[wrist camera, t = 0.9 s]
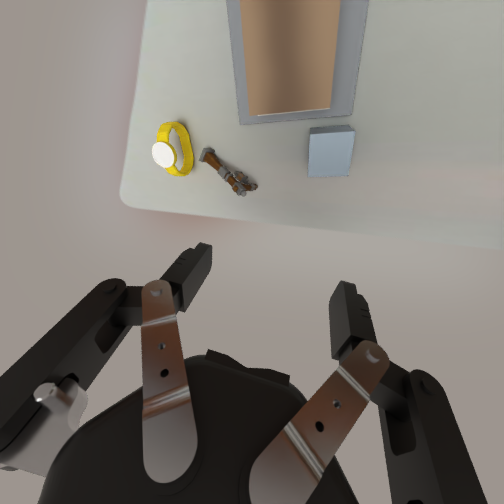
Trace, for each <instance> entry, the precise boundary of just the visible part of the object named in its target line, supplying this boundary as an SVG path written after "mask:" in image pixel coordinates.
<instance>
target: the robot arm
mask: <svg viewBox="0 0 504 504" xmlns="http://www.w3.org/2000/svg"><path fill="white" fill-rule="evenodd" d="M211 266H212V245H208V244H205V243H201V242H200V243H199V244H198V245H197V246H196V248H195V249H192V248H189V249H187V250H185V251H184V252H182V253H181V255H180V256H179V257H178V258H177V259H176V260H175V262H174V263H173V264H172V265H171V266H170V268H169V269H168V270H167V271H166V272H165V273H164V274H163V276H162V277H161V278H160V279H159V280H154V281H151V282H149V283H147V284H146V285H145V286H126V283H125V282H124V281H123V280H122V279H117V278H113V279H108V280H105V281H103V282H101V283H99V284H98V285H97V286H96V287H95V288H94V289H93V290H92V291H91V292H90V293H88V294H87V296H85V297H84V298H83V299H82V300H81V301H80V302H79V303H78V304H77V305H76V306H75V307H74V308H73V309H72V310H70V312H68V313H67V314H66V315H65V316H64V317H63V318H62V319H61V320H60V321H59V322H58V323H57V324H56V325H55V326H54V327H53V328H52V329H50V330H49V331H48V332H47V333H46V334H45V335H44V336H43V337H42V338H41V339H40V340H39V341H38V342H37V343H36V344H35V345H34V346H33V347H31V349H29V350H28V351H27V352H26V353H25V354H24V355H23V356H22V357H21V358H20V359H19V360H18V361H17V362H16V363H15V364H14V365H12V366H11V367H10V368H9V369H8V370H7V371H6V372H5V373H4V374H3V375H2V376H1V377H0V469H3V470H7V471H15V470H18V469H21V470H24V471H27V472H30V473H34V474H37V475H41V476H43V477H46V479H45V482H44V485H43V489H42V492H41V496H40V498H39V501H38V504H359V503H358V501H357V499H356V497H355V495H354V493H353V491H352V489H351V487H350V485H349V483H348V481H347V479H346V477H345V475H344V473H343V471H342V469H341V467H340V465H339V463H338V461H337V459H336V457H335V453H336V452H337V450H338V449H339V447H340V446H341V444H342V442H343V441H344V439H345V438H346V436H347V434H348V433H349V432H350V430H351V429H352V427H353V426H354V424H355V423H356V421H357V419H358V418H359V417H360V415H361V414H362V412H363V411H364V409H365V408H366V406H367V405H368V403H369V401H370V400H371V401H372V402H374V403H375V404H377V405H378V409H379V416H380V423H381V430H382V436H383V443H384V451H385V458H386V464H387V471H388V477H389V485H390V492H391V499H392V504H488V503H487V501H486V498H485V496H484V493H483V490H482V488H481V485H480V482H479V480H478V477H477V475H476V472H475V469H474V467H473V464H472V461H471V459H470V456H469V453H468V451H467V448H466V445H465V443H464V440H463V438H462V435H461V432H460V430H459V427H458V425H457V423H456V420H455V417H454V414H453V412H452V409H451V406H450V403H449V401H448V398H447V396H446V393H445V391H444V389H443V387H442V386H441V385H440V383H439V382H438V381H437V380H436V379H435V378H434V377H432V376H431V375H430V374H428V373H427V372H425V371H422V370H418V369H416V370H413V371H411V372H408V371H406V370H405V369H403V368H401V367H400V366H398V365H396V364H394V363H393V362H391V361H390V360H389V357H388V355H387V353H386V352H385V351H384V350H383V348H382V347H380V346H379V345H378V344H377V340H376V336H375V332H374V327H373V323H372V320H371V315H370V313H369V307H368V303H367V302H366V300H365V299H364V297H363V296H362V295H360V294H357V290H356V285H355V284H353V283H349V282H345V281H340V282H339V284H338V286H337V287H336V289H335V291H334V293H333V294H332V296H331V298H330V301H329V320H330V337H331V353H332V354H331V355H332V359H335V360H339V367H338V368H337V369H336V371H334V372H333V374H332V375H331V376H330V377H329V378H328V379H327V380H326V381H325V383H324V384H323V385H322V386H321V387H320V388H319V389H318V390H317V391H316V393H315V394H314V395H313V396H312V397H311V398H310V399H309V400H308V401H307V400H306V398H305V397H304V395H303V394H302V393H301V392H300V391H299V390H298V389H297V388H296V387H295V386H294V385H292V384H291V383H290V382H289V379H290V375H287V374H284V373H281V372H277V371H275V370H271V369H263V368H247V367H245V366H243V365H242V364H240V363H239V362H237V361H236V360H234V359H232V358H231V357H229V356H228V355H225V354H222V353H219V352H216V351H213V350H209V349H208V351H207V353H206V355H197V356H192V357H189V358H186V359H184V358H183V352H182V347H181V341H180V335H179V329H178V324H177V318H176V314H177V313H178V311H182V312H185V311H186V310H187V308H188V307H189V305H190V303H191V302H192V300H193V298H194V297H195V295H196V293H197V292H198V290H199V288H200V287H201V285H202V284H203V282H204V280H205V279H206V277H207V275H208V274H209V272H210V269H211ZM137 325H138V326H139V325H140V326H141V345H142V347H141V349H142V378H143V386H142V387H140V388H139V389H137V390H136V391H134V392H132V393H131V394H129V395H128V396H126V397H125V398H123V399H122V400H120V401H118V402H117V403H116V404H114V405H112V406H111V407H109V408H108V409H106V410H105V411H103V412H101V413H100V414H98V415H97V416H95V417H94V418H92V419H91V420H89V421H88V422H86V423H85V424H84V425H82V426H81V427H80V428H79V422H80V418H81V416H82V414H83V412H84V410H85V408H86V406H87V402H88V396H87V393H86V390H87V389H88V387H89V386H90V385H91V383H92V382H93V380H94V379H95V378H96V376H97V374H98V373H99V372H100V371H101V369H102V368H103V367H104V365H105V364H106V362H107V361H108V360H109V358H110V356H111V355H112V354H113V353H114V351H115V350H116V348H117V347H118V346H119V344H120V343H121V342H122V340H123V339H124V337H125V336H126V334H127V333H128V332H129V330H130V329H131V328H132V326H137Z"/></svg>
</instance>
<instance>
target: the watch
mask: <svg viewBox="0 0 504 504" xmlns="http://www.w3.org/2000/svg"><path fill="white" fill-rule="evenodd" d="M172 128H174V129H175V131H176V132H177V134H178V135H179V138H180V142H181V146H182V150H183V154H184V161H183V167H182V168H181V170H180V171H178V170H177V168H176V167H175V163H176V161H177V154H176V151H175V149H174V148H173V146H172V145H171V144H170V143H169V134H170V131H171V129H172ZM189 136H190V135H189V133H188V132H187V130H186V129H185V127H184V126H183V125H182V124H180V123H179V122H166V123H164V124H162V125H161V126H160V128H159V131H158V133H157V142H156V143H155V144H154V145H153V147H152V155H153V158H154V160H155V161H156V163H157V164H158V165H159V166H161V167H163V168H165V169H166V170H167V172H168V173H169V174H172V175H174V176H186V175H188V174H189V173H190V171H191V169H192V166H193V161H194V156H193V152H192V147H191V142H190V138H189Z"/></svg>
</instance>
